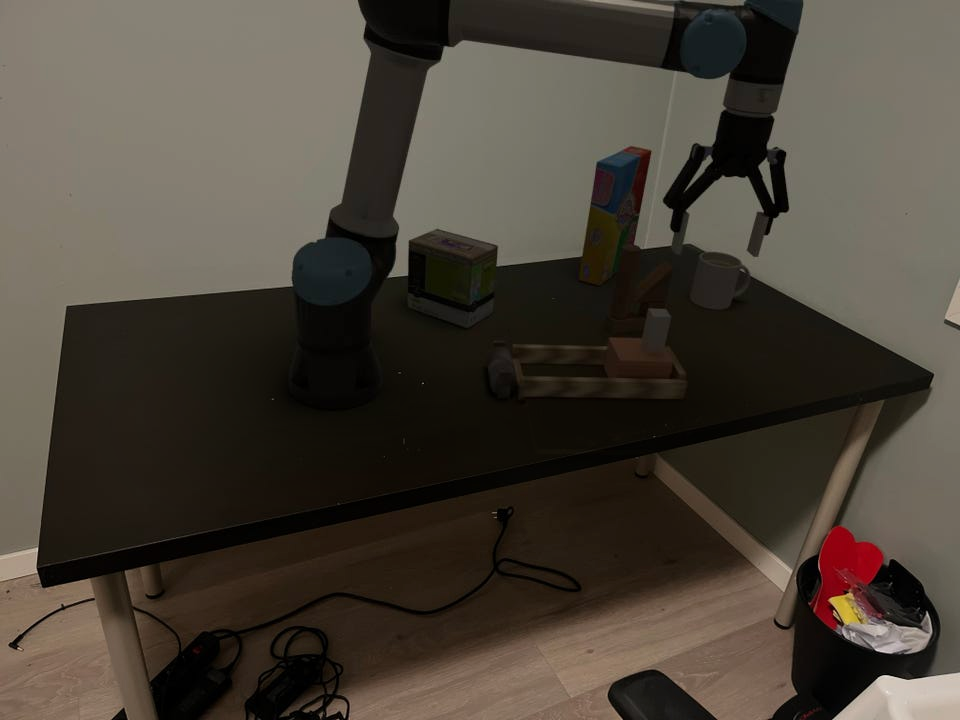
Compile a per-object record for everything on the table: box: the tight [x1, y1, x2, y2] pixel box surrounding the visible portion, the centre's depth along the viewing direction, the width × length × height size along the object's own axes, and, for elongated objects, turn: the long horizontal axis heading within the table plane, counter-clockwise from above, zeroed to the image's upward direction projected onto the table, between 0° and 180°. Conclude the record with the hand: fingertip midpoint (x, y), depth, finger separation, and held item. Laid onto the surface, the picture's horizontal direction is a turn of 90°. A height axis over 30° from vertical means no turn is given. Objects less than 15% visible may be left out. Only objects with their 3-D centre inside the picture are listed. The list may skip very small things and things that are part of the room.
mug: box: [689, 251, 751, 311], centre depth 155 cm, size 11×10×10 cm
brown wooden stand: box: [603, 244, 674, 334], centre depth 138 cm, size 4×11×18 cm, turn 107°
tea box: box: [407, 228, 499, 329], centre depth 141 cm, size 15×10×15 cm
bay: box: [485, 339, 688, 402], centre depth 122 cm, size 33×12×5 cm, turn 95°
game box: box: [578, 145, 653, 286], centre depth 162 cm, size 21×6×27 cm, turn 149°
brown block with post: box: [603, 308, 673, 379], centre depth 121 cm, size 9×9×13 cm
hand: (714, 252), depth 113 cm, fingers open, 12 cm apart
